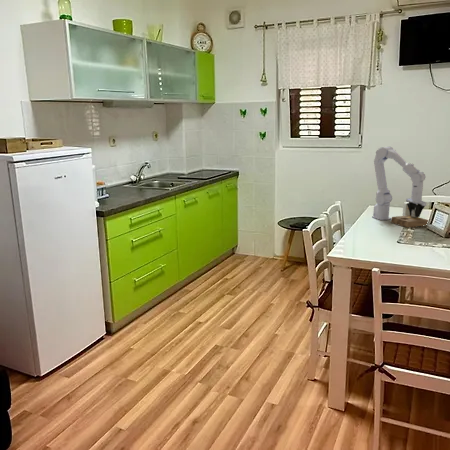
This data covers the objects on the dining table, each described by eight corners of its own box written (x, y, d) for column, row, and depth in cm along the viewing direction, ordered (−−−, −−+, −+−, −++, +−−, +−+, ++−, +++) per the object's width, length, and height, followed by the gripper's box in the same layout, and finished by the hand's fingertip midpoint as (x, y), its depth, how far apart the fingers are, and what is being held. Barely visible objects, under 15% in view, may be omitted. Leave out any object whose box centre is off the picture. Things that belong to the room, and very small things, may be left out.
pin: (409, 222, 257) (410, 209, 255) (414, 222, 258) (415, 208, 256) (413, 223, 254) (414, 210, 252) (417, 223, 255) (418, 209, 253)
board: (391, 222, 260) (391, 216, 259) (410, 220, 264) (411, 214, 263) (407, 227, 247) (408, 221, 246) (427, 225, 251) (428, 219, 250)
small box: (415, 218, 270) (416, 202, 267) (418, 220, 264) (419, 203, 262) (401, 218, 270) (403, 201, 268) (404, 220, 265) (406, 203, 263)
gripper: (402, 191, 258) (400, 214, 261) (420, 195, 244) (417, 218, 247) (412, 190, 260) (410, 213, 263) (430, 194, 246) (428, 218, 249)
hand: (414, 215), depth 255 cm, fingers open, 4 cm apart
